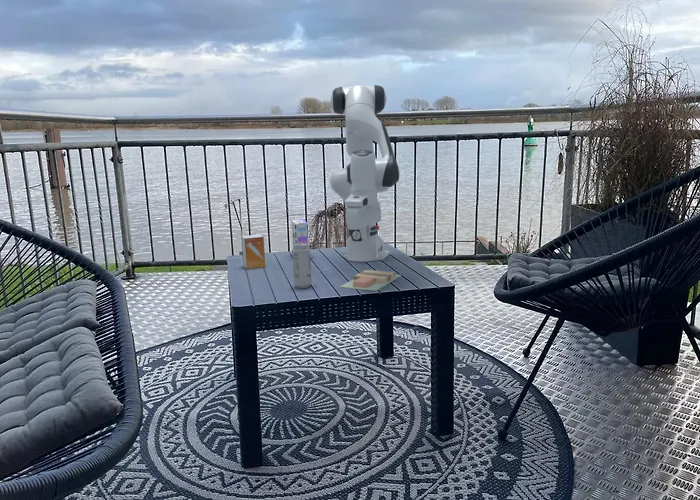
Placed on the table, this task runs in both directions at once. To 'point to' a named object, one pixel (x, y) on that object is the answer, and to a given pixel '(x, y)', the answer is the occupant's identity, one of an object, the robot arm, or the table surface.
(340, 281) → the table surface
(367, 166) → the robot arm
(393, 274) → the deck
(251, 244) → the small box
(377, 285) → the mat
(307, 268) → the energy drink can
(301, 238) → the candy box
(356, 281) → the tile
